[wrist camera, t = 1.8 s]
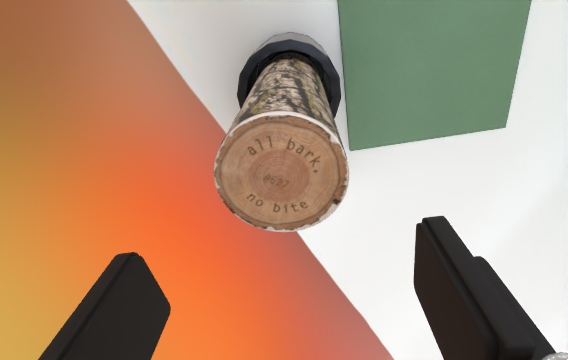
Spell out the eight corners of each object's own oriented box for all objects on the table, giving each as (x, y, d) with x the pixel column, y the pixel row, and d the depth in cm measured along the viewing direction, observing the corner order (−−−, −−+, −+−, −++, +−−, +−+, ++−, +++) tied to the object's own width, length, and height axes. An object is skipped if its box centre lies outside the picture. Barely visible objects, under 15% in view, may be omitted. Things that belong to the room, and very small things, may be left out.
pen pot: (241, 42, 34) (225, 52, 27) (326, 24, 33) (335, 29, 25) (260, 122, 39) (251, 150, 31) (334, 110, 38) (344, 136, 30)
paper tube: (274, 38, 34) (235, 90, 12) (327, 61, 35) (375, 146, 13) (255, 93, 37) (199, 209, 16) (304, 112, 38) (314, 246, 17)
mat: (336, -21, 31) (336, -21, 30) (541, -67, 28) (545, -68, 28) (349, 149, 41) (350, 151, 40) (503, 126, 38) (505, 127, 38)
